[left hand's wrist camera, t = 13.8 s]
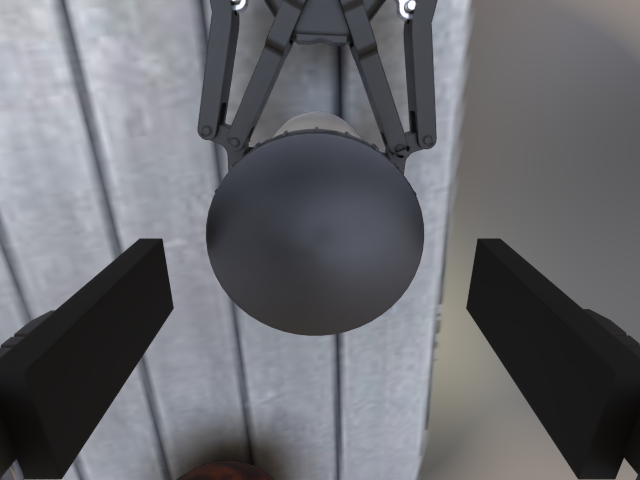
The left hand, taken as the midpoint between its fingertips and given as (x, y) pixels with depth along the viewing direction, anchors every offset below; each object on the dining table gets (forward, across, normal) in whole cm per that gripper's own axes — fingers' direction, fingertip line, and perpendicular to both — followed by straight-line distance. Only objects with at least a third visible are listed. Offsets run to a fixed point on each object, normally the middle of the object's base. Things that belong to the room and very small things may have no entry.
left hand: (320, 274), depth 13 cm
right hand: (+15, 0, -5) cm, 16 cm away
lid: (+3, 0, 0) cm, 3 cm away
